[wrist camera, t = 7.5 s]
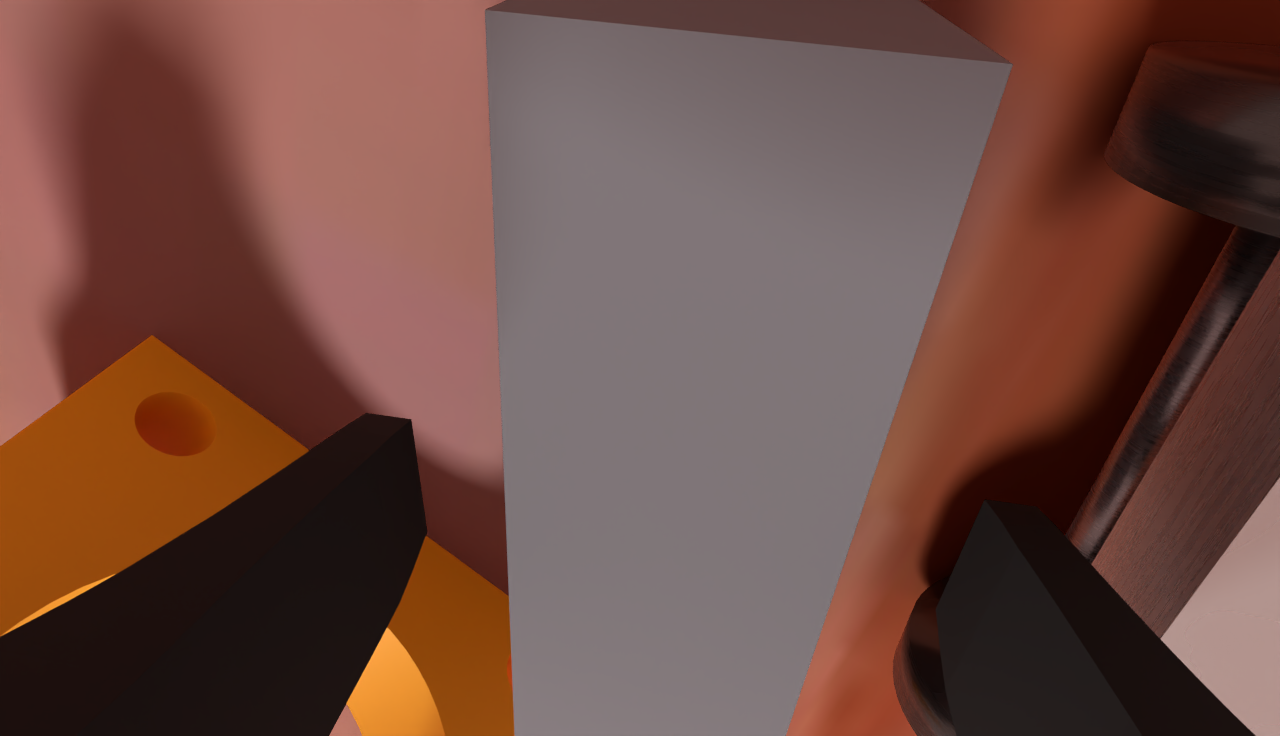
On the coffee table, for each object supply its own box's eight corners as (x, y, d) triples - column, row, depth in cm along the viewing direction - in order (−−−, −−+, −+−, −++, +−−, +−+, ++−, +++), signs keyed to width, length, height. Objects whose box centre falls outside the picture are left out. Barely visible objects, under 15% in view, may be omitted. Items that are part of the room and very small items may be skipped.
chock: (900, -13, 10) (1012, 63, 5) (761, 560, 16) (762, 802, 11) (599, -41, 10) (485, 9, 6) (577, 533, 16) (515, 759, 12)
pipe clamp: (79, 438, 16) (-250, 704, 11) (157, 330, 14) (-200, 593, 9) (485, 706, 20) (387, 1002, 15) (592, 650, 18) (523, 969, 13)
